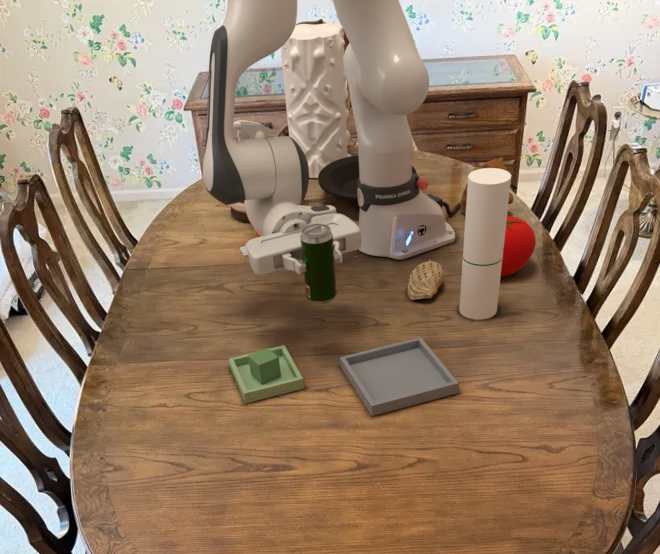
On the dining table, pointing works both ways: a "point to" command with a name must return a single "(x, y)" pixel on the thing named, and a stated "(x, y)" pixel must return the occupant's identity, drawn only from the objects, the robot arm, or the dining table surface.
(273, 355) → the green block
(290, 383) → the sage tray
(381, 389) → the steel tray
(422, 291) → the seashell
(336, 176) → the plate
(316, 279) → the beer can
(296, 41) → the vase
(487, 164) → the stuffed squirrel
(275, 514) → the dining table surface
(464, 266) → the cylindrical container
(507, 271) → the tomato
